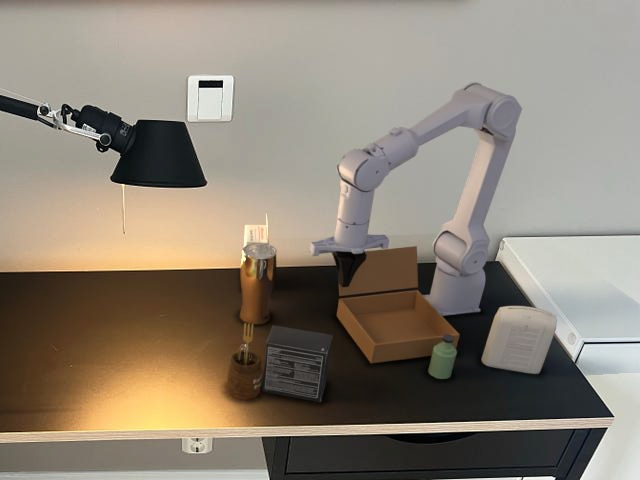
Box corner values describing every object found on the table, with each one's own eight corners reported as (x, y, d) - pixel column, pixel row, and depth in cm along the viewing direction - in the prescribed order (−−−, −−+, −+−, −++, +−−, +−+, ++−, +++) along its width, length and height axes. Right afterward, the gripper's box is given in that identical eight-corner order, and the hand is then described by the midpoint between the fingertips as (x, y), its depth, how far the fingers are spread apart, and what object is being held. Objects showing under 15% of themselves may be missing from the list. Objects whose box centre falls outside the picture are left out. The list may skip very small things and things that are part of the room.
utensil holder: (225, 399, 131) (228, 342, 124) (228, 378, 136) (231, 322, 129) (259, 402, 130) (264, 345, 123) (261, 381, 135) (266, 324, 128)
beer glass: (271, 308, 155) (277, 243, 147) (272, 326, 150) (278, 259, 141) (237, 307, 156) (241, 241, 147) (237, 325, 150) (241, 258, 142)
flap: (339, 296, 149) (339, 295, 150) (418, 287, 152) (417, 287, 152) (338, 254, 148) (337, 254, 148) (416, 246, 150) (416, 246, 151)
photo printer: (539, 364, 139) (559, 306, 131) (542, 377, 135) (562, 319, 128) (480, 354, 141) (497, 298, 134) (481, 367, 138) (498, 310, 131)
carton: (336, 317, 152) (339, 298, 150) (413, 308, 155) (417, 289, 152) (370, 364, 139) (374, 345, 136) (454, 354, 141) (459, 334, 139)
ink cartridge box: (241, 272, 168) (245, 210, 160) (263, 272, 168) (268, 211, 159) (242, 291, 161) (246, 228, 153) (265, 291, 161) (271, 228, 153)
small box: (327, 382, 135) (334, 333, 129) (321, 404, 130) (328, 354, 124) (268, 371, 138) (273, 322, 131) (260, 392, 133) (265, 342, 126)
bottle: (443, 366, 138) (453, 329, 134) (454, 378, 135) (464, 342, 131) (423, 368, 138) (432, 332, 133) (434, 381, 135) (443, 344, 130)
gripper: (323, 231, 130) (315, 299, 138) (401, 223, 132) (388, 290, 140) (308, 215, 136) (301, 280, 144) (383, 207, 138) (372, 272, 146)
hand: (343, 284), depth 142 cm, fingers closed
